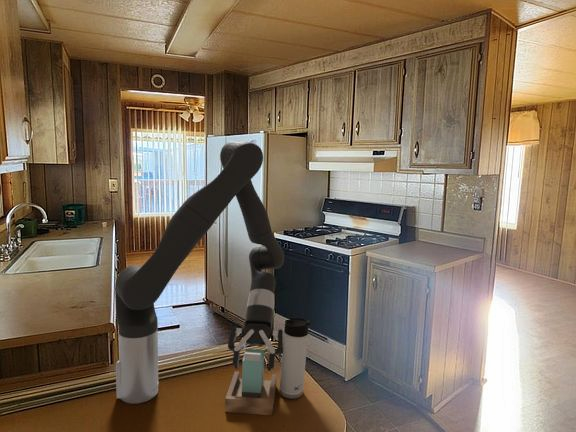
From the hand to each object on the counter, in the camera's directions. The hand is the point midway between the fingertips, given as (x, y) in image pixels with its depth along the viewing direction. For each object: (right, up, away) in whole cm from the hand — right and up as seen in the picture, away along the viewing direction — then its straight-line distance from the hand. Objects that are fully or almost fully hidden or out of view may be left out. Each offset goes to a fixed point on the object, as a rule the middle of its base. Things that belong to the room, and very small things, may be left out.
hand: (252, 369), depth 101 cm
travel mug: (+10, -8, +4) cm, 13 cm away
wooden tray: (0, -8, +2) cm, 8 cm away
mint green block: (0, -6, +2) cm, 7 cm away
